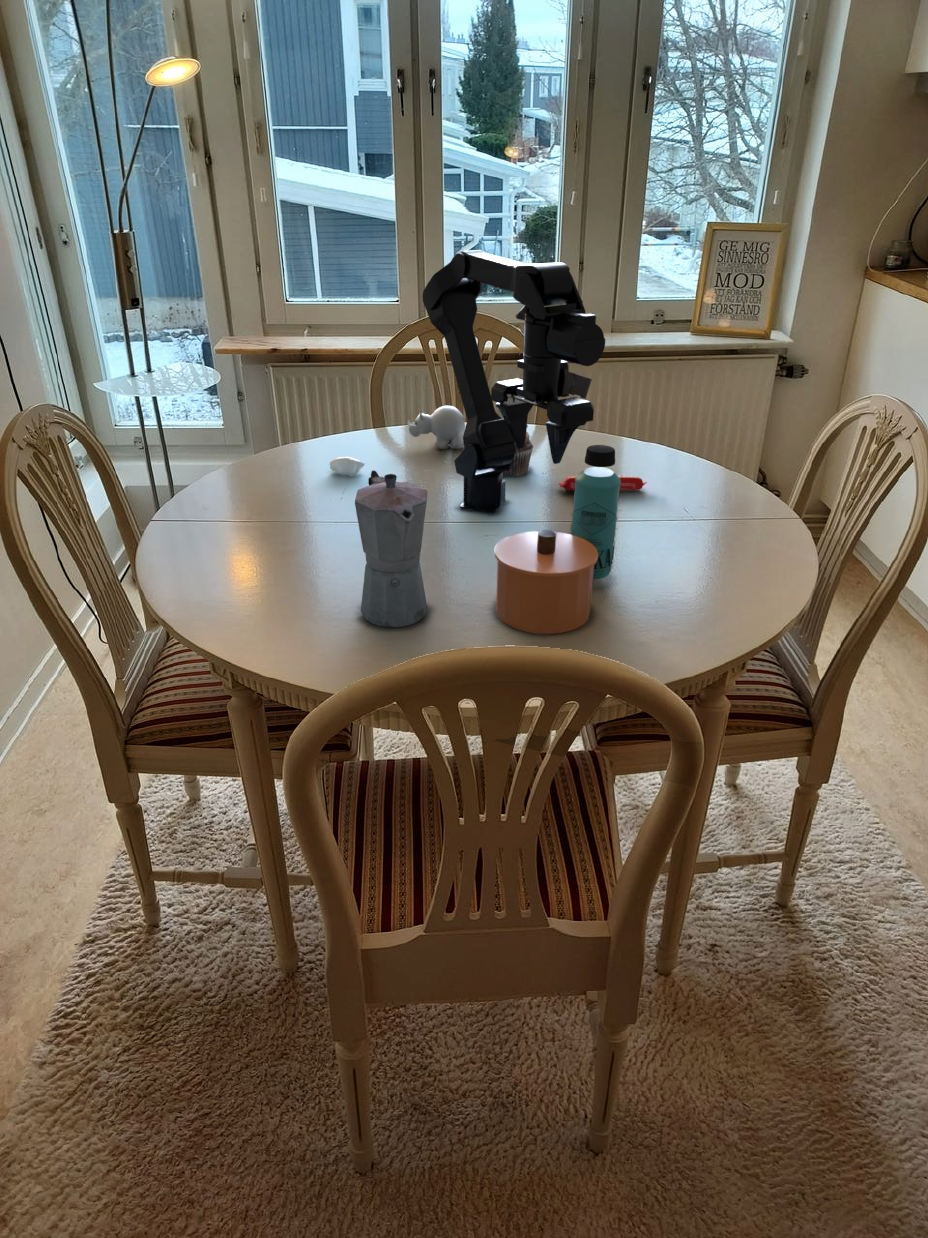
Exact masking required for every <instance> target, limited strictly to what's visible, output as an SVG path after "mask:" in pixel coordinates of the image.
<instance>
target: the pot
mask: <svg viewBox="0 0 928 1238" xmlns="http://www.w3.org/2000/svg"><path fill="white" fill-rule="evenodd" d="M593 573H594V566H592V567H591V568H590V569H588V570H586V571H584V572H581V573H578V574H573V575H568V576H559V577H543V576H533V575H527V574H523V573H519V572H516V571H513V570H511V569H508V568H506V567H505V566H503V565H502V564H500V563H499V562H498V561H497V560H496V596H495V597H496V599H495V600H496V601H495V603H496V614H497V615H498V618H499V619H500V620H501V621H502V622H503V623H505V624H506V625H508V626H509V627H511V628H513V629H516V630H519V631H523V632H526V633H533V634H538V635H539V634H541V635H551V634H553V635H554V634H563V633H568V632H571V631H573V630H576V629H578V628H580V627H582V626H583V625H584V624H585V623H587V621H588V619H589V617H590V613H591V607H592V595H593V594H592V593H593V584H594V583H593V582H594V579H593Z"/></svg>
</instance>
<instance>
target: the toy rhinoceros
mask: <svg viewBox="0 0 928 1238" xmlns="http://www.w3.org/2000/svg"><path fill="white" fill-rule="evenodd" d="M419 412H420V413H418V415H417V417H416V418H415V420H414V422H413V421H412V422H411V421H410V419H408V420H407V427H408V432H409V434H410V435H411V436H412V437H414V438H418V437H420V436H421V435H429V434H430V433H432V434H433V435H434V436H435V448H436V449H438V450H446V449H448V448H449V445H450V448H451V449H454V450H459V449H462V448H464V443H463V432H464V430H465V421H466V419H465V417H464V415H463V414H462V412H461V411H460V410H459V409H458V408H457V407H455V406H453V405H443V406H439V407H438V408H436V409H435V410H434V412H433V413H432V414H430V415H429V414H427V413H425V412H424V411H423V409H420V410H419Z"/></svg>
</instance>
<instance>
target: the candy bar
mask: <svg viewBox="0 0 928 1238" xmlns="http://www.w3.org/2000/svg"><path fill="white" fill-rule="evenodd" d="M576 476H577V475H571V476H567V477H565V478H564V479H563V481H562V482H559V483H558V486H559V487H560V488H562V489H563V490H567V491H572V492H575V483H576V482H575V478H576ZM617 476H618V477H619V478H620V480H621V483H620V488H619V492H620V491H621V492H625V491H626V492H627V491H630V492H631V491H640V490H642V489H643V487H644V486H645V485H646V484H647V483H648V481H645V482H644V481H643V478H641V477H639V476H636V475H617Z"/></svg>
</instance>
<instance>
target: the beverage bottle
mask: <svg viewBox="0 0 928 1238" xmlns="http://www.w3.org/2000/svg"><path fill="white" fill-rule="evenodd" d="M584 464H586V465H587V466H590V467H586V468H584V469H583V470H582V471H580V472H579V473H578V474H577V475H575V476H576V478H575V482H576V483H575V491H574V496H573V506H572V507H573V508H572V513H571V521H570V527H569V530H570V531H569V534H570V535H574V536H577V537H580V538H582V539H584V540H586V541H588V542H590V543H591V544H592V545H593V546H594V547H595V548H596V549H597V552H598V560H597V562H596V563H595V565H594V573H593V580H601V579H604V578H606V577H608V576H609V575H610V573H611V571H612V570H613V568H612V566H613V561H614V555H615V544H616V542H615V541H616V537H617V535H616V530H618V529H617V521H618V507H619V506H618V505H619V498H620V497H619V495H620V491H619V488H620V483H621V480H620V478H619V477H618V476H619V475H617V473H616V472H615V471H614V470H613V469H610V467H613V466H615V464H616V449H615V447H612V446H611V445H610V446H609V445H605V444H593V445H590V446H588V447H586V452H585V456H584Z"/></svg>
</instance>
